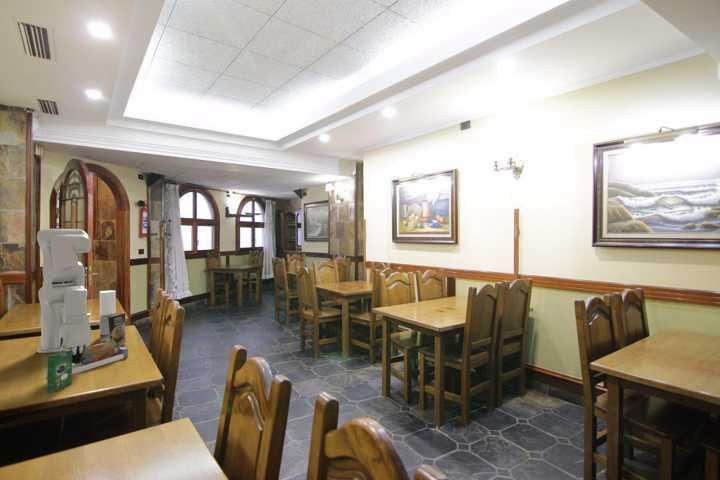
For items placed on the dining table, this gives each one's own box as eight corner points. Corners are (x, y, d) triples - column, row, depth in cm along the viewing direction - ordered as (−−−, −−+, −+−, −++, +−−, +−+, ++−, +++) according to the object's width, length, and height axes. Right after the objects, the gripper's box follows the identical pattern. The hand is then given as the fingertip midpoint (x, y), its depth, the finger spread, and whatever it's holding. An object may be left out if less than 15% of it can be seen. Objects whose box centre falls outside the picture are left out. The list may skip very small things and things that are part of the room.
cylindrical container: (109, 339, 195) (109, 292, 195) (96, 339, 195) (96, 292, 195) (118, 335, 202) (118, 290, 202) (106, 335, 202) (105, 290, 202)
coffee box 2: (110, 350, 176) (110, 317, 176) (99, 349, 178) (99, 316, 177) (126, 344, 185) (126, 313, 185) (115, 343, 187) (115, 312, 186)
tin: (82, 369, 151) (81, 349, 151) (78, 367, 153) (78, 347, 153) (120, 358, 165) (120, 339, 165) (116, 357, 166) (116, 339, 166)
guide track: (47, 376, 144) (47, 366, 143) (118, 355, 169) (118, 346, 169) (57, 379, 141) (57, 369, 141) (127, 357, 167) (127, 348, 167)
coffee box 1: (65, 383, 138) (65, 348, 137) (73, 383, 137) (72, 348, 137) (46, 392, 129) (46, 355, 129) (54, 392, 129) (54, 355, 129)
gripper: (89, 314, 158) (89, 356, 158) (48, 321, 144) (49, 367, 144) (100, 315, 155) (100, 358, 155) (60, 323, 141) (60, 370, 142)
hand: (76, 363), depth 150 cm, fingers closed
